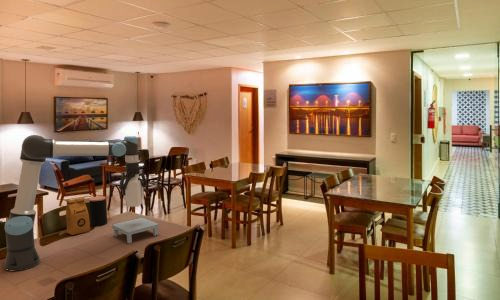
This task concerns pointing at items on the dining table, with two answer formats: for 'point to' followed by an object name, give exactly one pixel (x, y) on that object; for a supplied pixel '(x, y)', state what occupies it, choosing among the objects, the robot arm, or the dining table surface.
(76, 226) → the coffee package
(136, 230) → the grey square footed tray
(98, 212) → the coffee jar
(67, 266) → the dining table surface
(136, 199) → the milk carton
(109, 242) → the dining table surface
